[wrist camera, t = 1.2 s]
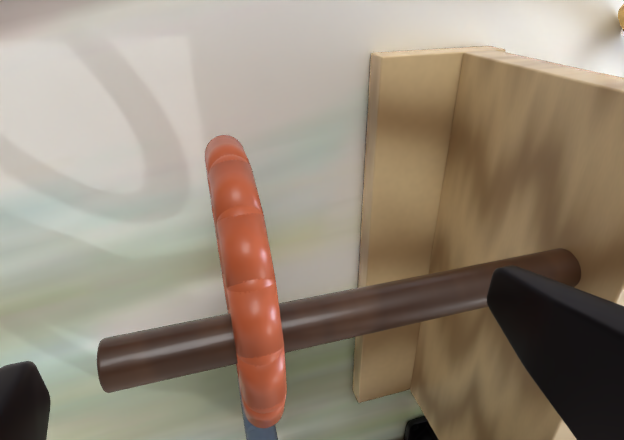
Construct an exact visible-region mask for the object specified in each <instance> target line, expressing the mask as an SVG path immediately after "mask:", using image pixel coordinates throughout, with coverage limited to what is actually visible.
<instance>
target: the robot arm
mask: <svg viewBox="0 0 624 440" xmlns="http://www.w3.org/2000/svg"><path fill="white" fill-rule="evenodd" d="M487 304H488V307H489V309H490V311H491V313H492V314H493V316H494V318H495V319H496V321H497V323H498V324H499V326H500V328H501V329H502V331H503V333H504V334H505V336H506V338H507V339H508V341H509V343H510V344H511V346H512V348H513V349H514V351H515V353H516V354H517V356H518V358H519V359H520V361H521V363H522V364H523V366H524V367H525V369H526V370H527V372H528V373H529V375H530V376H531V377H532V379H533V380H534V382H535V383H536V384H537V386H538V387H539V388H540V390H541V391H542V393H543V394H544V395H545V397H546V398H547V399H548V401H549V402H550V403H551V405H552V406H553V408H554V409H555V410H556V412H557V413H558V414H559V416H560V417H561V418H562V420H563V421H564V423H565V424H566V425H567V427H568V428H569V429H570V431H571V432H572V434H573V435H574V436H575V438H576V439H577V440H624V306H622V305H619V304H617V303H614V302H611V301H609V300H606V299H603V298H601V297H598V296H595V295H593V294H590V293H587V292H585V291H582V290H579V289H577V288H574V287H571V286H569V285H566V284H564V283H561V282H558V281H556V280H553V279H550V278H548V277H545V276H542V275H540V274H537V273H534V272H532V271H529V270H526V269H524V268H521V267H518V266H515V265H509V266H504V267H499V268H497V269H495V270H494V272H493V274H492V278H491V282H490V286H489V290H488V293H487ZM49 412H50V395H49V392H48V390H47V388H46V385H45V383H44V381H43V379H42V377H41V375H40V373H39V371H38V369H37V367H36V365H35V364H34V363H33V362H31V361H25V362H20V363H15V364H10V365H6V366H3V367H2V368H0V440H46V437H47V429H48V421H49ZM404 440H439V439H438V438H437V436H436V434H435V433H434V431H433V429H432V427H431V426H430V424H429V422H428V420H427V419H426V417H425V416H424V417H420V418H417V419H413V420H411V421H409V422H408V423H407V427H406V433H405V439H404Z"/></svg>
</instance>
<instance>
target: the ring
mask: <svg viewBox="0 0 624 440" xmlns="http://www.w3.org/2000/svg"><path fill="white" fill-rule="evenodd" d="M618 19H619V23H620V25H621V27H622V29H621V30H620V33H621V35H622V36H623V37H624V4H623V5H622V6H621V8H620V9H619V11H618Z"/></svg>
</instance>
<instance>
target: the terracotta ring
mask: <svg viewBox="0 0 624 440" xmlns="http://www.w3.org/2000/svg"><path fill="white" fill-rule="evenodd" d="M205 162H206V170H207V177H208V184H209V191H210V198H211V205H212V212H213V218H214V225H215V232H216V238H217V245H218V252H219V258H220V265H221V271H222V278H223V284H224V291H225V297H226V303H227V310H228V314H229V313H230V314H231V321H232V328H233V334H234V341H235V347H236V354H237V361H238V364H236V366H237V373H238V379H239V385H240V390H241V396H242V402H243V407H244V412H245V415H246V418H247V419H248V421H249V422H250V423H251V424H252V425H254V426H256V427H258V428H268V427H271V426H273V425H275V424H276V423H277V422H278V421H279V420H280V418H281V416H282V414H283V411H284V406H285V400H286V393H287V383H286V367H285V351H284V340H283V332H282V325H281V317H280V310H279V302H278V295H277V287H276V280H275V274H274V269H273V264H272V258H271V253H270V247H269V242H268V237H267V231H266V226H265V220H264V215H263V211H262V207H261V203H260V199H259V195H258V191H257V187H256V183H255V179H254V175H253V171H252V168H251V166H250V163H249V161H248V158H247V156H246V154H245V151H244V149H243V146H242V145H241V143H240V142H239V141H238V140H237V139H235V138H234V137H231V136H228V135H221V136H217V137H215V138H213V139H212V140H211V141H210V142H209V143H208V145H207V147H206V150H205Z"/></svg>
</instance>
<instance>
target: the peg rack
mask: <svg viewBox="0 0 624 440" xmlns="http://www.w3.org/2000/svg"><path fill="white" fill-rule="evenodd" d="M509 265H515V266H518V267H521V268H524V269H526V270H529V271H532V272H534V273H537V274H540V275H542V276H545V277H548V278H550V279H553V280H556V281H558V282H561V283H564V284H566V285H569V286H571V287H574V288H577V289H579V290H582V291H585V292H587V293H590V294H593V295H595V296H598V297H601V298H603V299H606V300H609V301H611V302H614V303H617V304H619V305H622V306H624V78H621V77H617V76H612V75H608V74H603V73H598V72H594V71H589V70H584V69H580V68H575V67H570V66H566V65H561V64H557V63H552V62H547V61H543V60H538V59H533V58H529V57H524V56H519V55H515V54H510V53H506V52H505V49H502V48H497V47H492V46H479V47H462V48H444V49H427V50H410V51H393V52H376V53H371V61H370V80H369V98H368V116H367V134H366V152H365V170H364V188H363V206H362V224H361V242H360V260H359V279H358V288H355V289H350V290H345V291H340V292H335V293H330V294H325V295H320V296H315V297H310V298H305V299H300V300H295V301H290V302H285V303H280V304H279V310H280V317H281V325H282V332H283V340H284V351H285V353H287V352H291V351H296V350H300V349H304V348H309V347H313V346H318V345H322V344H326V343H331V342H335V341H340V340H344V339H348V338H353V337H355V351H354V369H353V387H352V390H353V392H354V394H355V397H356V399H357V401H358V403H361V402H365V401H368V400H372V399H376V398H380V397H383V396H387V395H391V394H395V393H398V392H402V391H406V390H410V391H411V393H412V394H413V396H414V398H415V400H416V401H417V403H418V405H419V407H420V408H421V410H422V412H423V413H424V415H425V417H426V419H427V420H428V422H429V424H430V426H431V427H432V429H433V431H434V433H435V434H436V436H437V438H438V439H439V440H577V439H576V438H575V436H574V435H573V434H572V432H571V431H570V429H569V428H568V427H567V425H566V424H565V423H564V421H563V420H562V418H561V417H560V416H559V414H558V413H557V412H556V410H555V409H554V408H553V406H552V405H551V403H550V402H549V401H548V399H547V398H546V397H545V395H544V394H543V393H542V391H541V390H540V388H539V387H538V386H537V384H536V383H535V382H534V380H533V379H532V377H531V376H530V375H529V373H528V372H527V370H526V369H525V367H524V366H523V364H522V363H521V361H520V359H519V358H518V356H517V354H516V353H515V351H514V349H513V348H512V346H511V344H510V343H509V341H508V339H507V338H506V336H505V334H504V333H503V331H502V329H501V328H500V326H499V324H498V323H497V321H496V319H495V318H494V316H493V314H492V313H491V311H490V309H489V307H488V304H487V293H488V290H489V286H490V282H491V278H492V274H493V272H494V270H495V269H497V268H499V267H504V266H509ZM234 364H238V361H237V354H236V347H235V341H234V334H233V328H232V321H231V314H230V313H229V314H224V315H219V316H214V317H209V318H204V319H199V320H194V321H189V322H184V323H179V324H174V325H169V326H164V327H159V328H154V329H149V330H143V331H138V332H133V333H128V334H123V335H118V336H113V337H108V338H104V339H102V340H101V341H100V343H99V347H98V352H97V370H98V376H99V381H100V384H101V386H102V388H103V390H104V391H105V392H107V393H111V392H115V391H119V390H124V389H128V388H133V387H137V386H141V385H146V384H150V383H155V382H159V381H163V380H168V379H172V378H177V377H181V376H186V375H190V374H194V373H199V372H203V371H208V370H212V369H216V368H221V367H225V366H230V365H234Z"/></svg>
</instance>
